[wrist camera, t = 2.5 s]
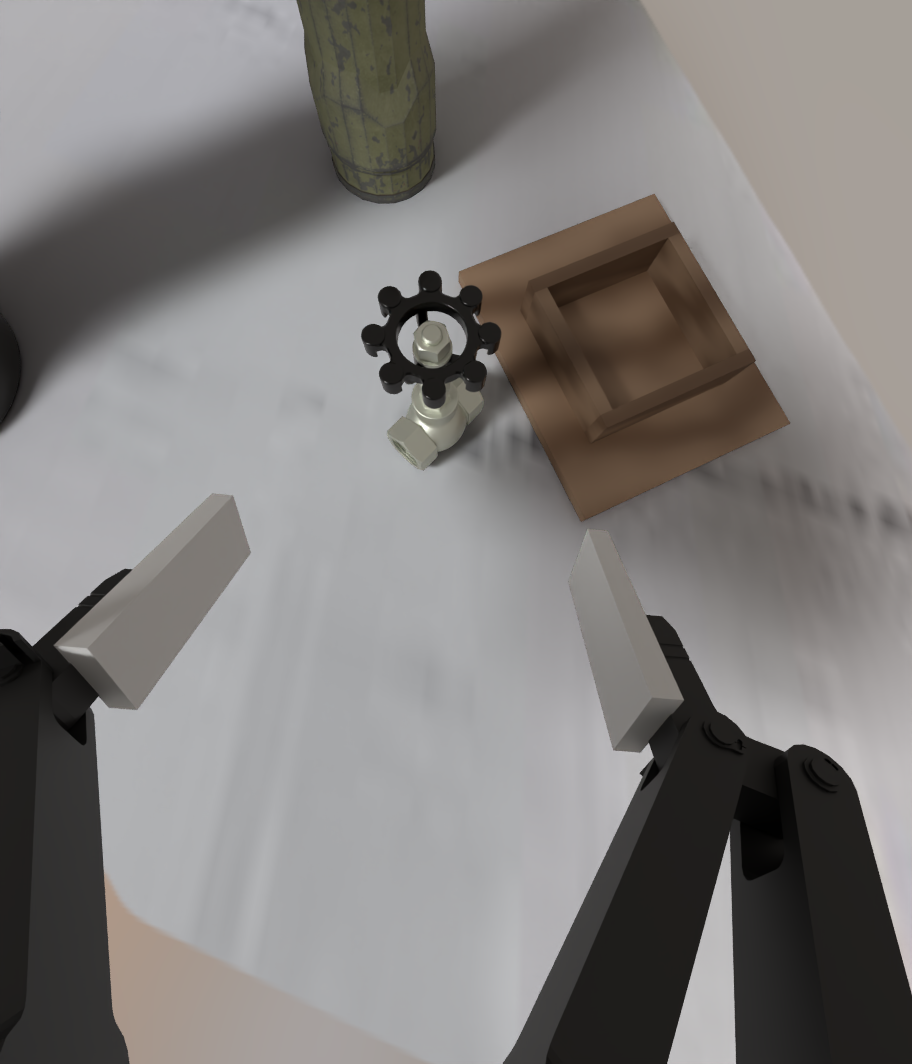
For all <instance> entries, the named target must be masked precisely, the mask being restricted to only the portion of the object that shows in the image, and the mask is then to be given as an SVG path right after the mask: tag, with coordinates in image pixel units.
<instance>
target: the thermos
mask: <svg viewBox="0 0 912 1064" xmlns="http://www.w3.org/2000/svg"><path fill="white" fill-rule="evenodd" d="M297 4H298V8H299V12H300V16H301V20H302V24H303V28H304V48H305V55H306V62H307V68H308V75H309V82H310V86H311V90H312V94H313V98H314V101H315V105H316V109H317V112H318V116H319V120H320V123H321V127H322V131H323V134H324V136H325V139H326V141H327V143H328V146H329V147H330V149H331V153H332V161H333V164H334V168H335V170H336V173H337V175H338V178H339V180H340V181H341V182H342V184H343V185H344V186H345V187H346V188H347V189H348V190H349V191H350V192H351V193H353V194H355V195H356V196H358V197H360V198H361V199H363V200H367V201H371V202H375V203H396V202H399V201H402V200H405V199H408V198H411V197H412V196H413V195H415V194H416V193H418V192H419V191H421V190H422V189H423V188H424V186H425V185H426V184H427V182H428V181H429V180H430V178H431V176H432V172H433V169H434V166H435V155H434V143H433V137H434V134H435V131H436V104H435V63H434V59H433V55H432V52H431V48H430V44H429V41H428V37H427V33H426V25H425V0H297Z"/></svg>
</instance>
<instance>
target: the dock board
mask: <svg viewBox="0 0 912 1064" xmlns="http://www.w3.org/2000/svg"><path fill="white" fill-rule="evenodd" d="M459 283H460V285H461V287H462V288H464V287H465V286H468V285H474V286H476V287H478V288H479V289H480V290H481V292H482V294H483V299H482V306H481V312H480V314H479V315H478V316H476V317H477V319H478V321H479V323H480V325H482V324H484V323H486V322H493V323H495V324H497V325H498V326H499V327H500V329H501V332H502V335H501V340H500V344H499V348H498V350H497V351H496V352H495V354H496V356H497V358H498V360H499V362H500V364H501V366H502V368H503V370H504V372H505V374H506V376H507V378H508V380H509V381H510V383H511V385H512V387H513V389H514V391H515V393H516V395H517V397H518V399H519V401H520V403H521V405H522V407H523V409H524V411H525V413H526V415H527V417H528V419H529V421H530V423H531V425H532V427H533V429H534V431H535V433H536V434H537V436H538V438H539V440H540V442H541V444H542V446H543V448H544V450H545V452H546V454H547V456H548V458H549V460H550V462H551V464H552V466H553V468H554V470H555V472H556V474H557V476H558V478H559V480H560V482H561V484H562V486H563V487H564V489H565V491H566V493H567V495H568V497H569V499H570V501H571V503H572V505H573V507H574V509H575V511H576V513H577V515H578V517H579V519H580V521H581V522H582V521H584V520H586V519H588V518H590V517H593V516H595V515H597V514H599V513H601V512H603V511H605V510H607V509H610V508H612V507H614V506H616V505H618V504H620V503H622V502H624V501H627V500H629V499H631V498H633V497H635V496H637V495H639V494H641V493H644V492H646V491H648V490H650V489H652V488H654V487H656V486H658V485H661V484H663V483H665V482H667V481H669V480H671V479H673V478H675V477H678V476H680V475H682V474H684V473H686V472H688V471H690V470H692V469H695V468H697V467H699V466H701V465H703V464H705V463H707V462H709V461H712V460H714V459H716V458H718V457H720V456H722V455H724V454H726V453H729V452H731V451H733V450H735V449H737V448H739V447H741V446H744V445H746V444H748V443H750V442H752V441H754V440H756V439H758V438H761V437H763V436H765V435H767V434H769V433H771V432H773V431H775V430H778V429H780V428H782V427H784V426H786V425H788V424H790V422H789V420H788V419H787V417H786V415H785V413H784V412H783V410H782V408H781V407H780V405H779V403H778V402H777V400H776V398H775V397H774V395H773V393H772V392H771V390H770V388H769V386H768V385H767V383H766V381H765V380H764V378H763V376H762V375H761V373H760V371H759V370H758V368H757V366H756V364H755V363H754V362H755V361H756V360H755V358H754V356H753V355H752V353H751V351H750V350H749V348H748V346H747V345H746V343H745V341H744V340H743V338H742V336H741V335H740V333H739V331H738V329H737V328H736V326H735V324H734V323H733V321H732V319H731V318H730V316H729V314H728V313H727V311H726V309H725V308H724V306H723V304H722V302H721V301H720V299H719V297H718V296H717V294H716V292H715V291H714V289H713V287H712V286H711V284H710V282H709V281H708V279H707V277H706V276H705V274H704V272H703V270H702V269H701V267H700V265H699V264H698V262H697V260H696V259H695V257H694V255H693V254H692V252H691V250H690V249H689V247H688V245H687V243H686V242H685V240H684V238H683V237H682V235H681V233H680V232H679V230H678V228H677V227H676V225H675V223H674V222H672V223H671V221H670V219H669V218H668V216H667V214H666V212H665V211H664V209H663V207H662V206H661V204H660V202H659V201H658V199H657V197H656V196H655V194H653V195H650V196H648V197H645V198H643V199H640V200H638V201H635V202H633V203H630V204H628V205H625V206H623V207H620V208H618V209H615V210H613V211H610V212H608V213H605V214H603V215H600V216H597V217H595V218H592V219H590V220H587V221H585V222H582V223H580V224H577V225H575V226H572V227H570V228H567V229H565V230H562V231H560V232H557V233H555V234H552V235H550V236H547V237H545V238H542V239H540V240H537V241H535V242H532V243H530V244H527V245H525V246H522V247H520V248H517V249H515V250H512V251H510V252H507V253H505V254H502V255H500V256H497V257H495V258H492V259H490V260H487V261H484V262H482V263H479V264H477V265H474V266H472V267H469V268H467V269H464V270H462V271H459Z"/></svg>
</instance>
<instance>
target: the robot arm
mask: <svg viewBox="0 0 912 1064" xmlns="http://www.w3.org/2000/svg"><path fill="white" fill-rule="evenodd" d="M19 376H20V355H19V349H18V345H17V342H16V339H15V336H14V334H13V332H12V330H11V328H10V326H9V325H8V323H7V322H6V321H5V319H4V318H3V317H2V316H1V314H0V422H1V421H2V420H3V418H4V417H5V415H6V413H7V412H8V410H9V408H10V406H11V404H12V402H13V399H14V396H15V394H16V390H17V387H18V382H19ZM250 553H251V551H250V548H249V545H248V542H247V538H246V535H245V532H244V529H243V526H242V523H241V519H240V516H239V513H238V510H237V507H236V503H235V500H234V497H233V496H232V495H221V494H211V495H210V496H209V497H208V498H207V499H206V500H205V501H204V502H203V503H202V504H201V505H200V506H199V507H198V508H196V509H195V510H194V511H193V512H192V513H191V514H190V515H189V516H188V517H187V518H186V519H185V520H184V521H183V522H182V523H181V524H180V525H179V526H178V527H177V528H176V529H175V530H174V531H172V532H171V533H170V534H169V535H168V536H167V537H166V538H165V539H164V540H163V541H162V542H161V543H160V544H159V545H158V546H157V547H156V548H155V549H154V550H153V551H152V552H151V553H149V554H148V555H147V556H146V557H145V558H144V559H143V560H142V561H141V562H140V563H139V564H138V565H137V566H136V567H135V568H134V569H124V570H122V571H120V572H118V573H117V574H115V575H113V576H111V577H109V578H108V579H106V580H105V581H103V582H102V583H101V584H100V585H99V586H98V587H97V588H96V589H95V590H94V591H93V592H91V595H90V596H87V597H86V598H85V599H84V600H83V601H82V602H81V603H79V604H78V605H79V606H78V607H75V608H74V609H73V610H72V611H71V612H70V613H69V614H67V615H66V616H65V617H64V618H63V619H62V620H61V621H60V622H59V623H58V624H56V625H55V626H54V627H53V628H52V629H51V630H50V631H49V632H48V633H47V634H46V635H44V636H43V637H42V638H41V639H40V640H39V641H38V642H37V643H36V644H35V645H34V646H31V645H30V644H29V643H28V642H27V641H26V640H25V639H24V638H23V637H22V635H21V634H20V633H19V632H16V631H14V630H12V629H0V1064H129V1057H128V1050H127V1046H126V1043H125V1040H124V1036H123V1035H122V1033H121V1031H120V1029H119V1028H118V1026H117V1024H116V1022H115V1019H114V1016H113V1010H112V999H111V984H110V983H111V982H110V968H109V967H110V966H109V952H108V951H109V950H108V934H107V917H106V902H105V887H104V869H103V852H102V836H101V820H100V804H99V787H98V771H97V755H96V739H95V722H94V714H93V712H92V709H91V708H90V706H91V704H92V703H93V702H94V701H95V700H96V698H97V697H98V696H99V697H100V698H101V699H102V700H103V701H104V703H105V704H106V705H107V706H108V707H109V708H120V709H132V710H138V708H139V707H140V706H141V704H142V703H143V701H144V700H145V699H146V697H147V696H148V694H149V693H150V692H151V690H152V689H153V688H154V686H155V685H156V683H157V682H158V681H159V679H160V678H161V676H162V675H163V674H164V672H165V671H166V670H167V668H168V667H169V665H170V664H171V663H172V661H173V660H174V658H175V657H176V656H177V654H178V653H179V652H180V650H181V649H182V647H183V646H184V645H185V643H186V642H187V641H188V639H189V638H190V636H191V635H192V634H193V632H194V631H195V629H196V628H197V627H198V625H199V624H200V623H201V621H202V620H203V618H204V617H205V616H206V614H207V613H208V611H209V610H210V609H211V607H212V606H213V605H214V603H215V602H216V600H217V599H218V598H219V596H220V595H221V593H222V592H223V591H224V589H225V588H226V587H227V585H228V584H229V582H230V581H231V580H232V578H233V577H234V575H235V574H236V573H237V571H238V570H239V569H240V567H241V566H242V564H243V563H244V562H245V560H246V559H247V557H248V556H249V555H250ZM568 583H569V586H570V590H571V594H572V598H573V601H574V605H575V609H576V613H577V616H578V620H579V624H580V628H581V631H582V635H583V639H584V643H585V646H586V650H587V654H588V658H589V661H590V665H591V669H592V673H593V676H594V680H595V684H596V688H597V691H598V695H599V699H600V703H601V706H602V710H603V714H604V718H605V721H606V725H607V729H608V733H609V736H610V740H611V744H612V748H613V750H616V751H628V752H641V751H642V750H643V749H644V748H645V746H646V745H647V744H648V743H649V744H650V747H651V750H652V753H653V756H654V758H653V759H652V760H651V761H650V762H649V763H648V764H647V766H646V767H645V768H644V769H643V770H642V771H641V772H640V774H641V775H642V776H643V777H642V779H641V782H640V784H639V786H638V788H637V790H636V792H635V794H634V796H633V798H632V801H631V803H630V805H629V807H628V809H627V811H626V813H625V815H624V817H623V819H622V822H621V824H620V826H619V828H618V830H617V832H616V834H615V836H614V838H613V841H612V843H611V845H610V847H609V849H608V851H607V853H606V855H605V857H604V859H603V862H602V864H601V866H600V868H599V870H598V872H597V874H596V876H595V878H594V880H593V883H592V885H591V887H590V889H589V891H588V893H587V895H586V897H585V899H584V902H583V904H582V906H581V908H580V910H579V912H578V914H577V916H576V918H575V920H574V923H573V925H572V927H571V929H570V931H569V933H568V935H567V937H566V939H565V942H564V944H563V946H562V948H561V950H560V952H559V954H558V956H557V958H556V960H555V963H554V965H553V967H552V969H551V971H550V973H549V975H548V977H547V979H546V981H545V984H544V986H543V988H542V990H541V992H540V994H539V996H538V998H537V1000H536V1003H535V1005H534V1007H533V1009H532V1011H531V1013H530V1015H529V1017H528V1019H527V1021H526V1024H525V1026H524V1028H523V1030H522V1032H521V1034H520V1036H519V1038H518V1040H517V1042H516V1044H515V1046H514V1047H513V1049H512V1051H511V1052H510V1054H509V1055H508V1057H507V1058H506V1059H505V1061H504V1062H503V1064H667V1062H668V1058H669V1054H670V1051H671V1047H672V1043H673V1039H674V1036H675V1032H676V1028H677V1025H678V1021H679V1017H680V1014H681V1010H682V1006H683V1002H684V999H685V995H686V991H687V988H688V984H689V980H690V976H691V973H692V969H693V965H694V962H695V958H696V954H697V951H698V947H699V943H700V939H701V936H702V932H703V928H704V925H705V921H706V917H707V913H708V910H709V906H710V902H711V899H712V895H713V891H714V888H715V884H716V880H717V876H718V873H719V869H720V865H721V862H722V858H723V854H724V850H725V847H726V843H727V839H728V836H729V832H730V852H731V889H732V927H733V964H734V1001H735V1038H736V1064H912V994H911V990H910V986H909V982H908V979H907V975H906V971H905V968H904V964H903V960H902V957H901V953H900V949H899V945H898V942H897V938H896V934H895V931H894V927H893V923H892V920H891V916H890V912H889V908H888V905H887V901H886V897H885V894H884V890H883V886H882V883H881V879H880V875H879V871H878V868H877V864H876V860H875V857H874V853H873V849H872V845H871V842H870V838H869V834H868V831H867V827H866V823H865V820H864V816H863V812H862V808H861V805H860V801H859V797H858V794H857V791H856V788H855V786H854V784H853V782H852V780H851V778H850V777H849V776H848V775H847V773H846V772H845V771H844V770H843V768H842V767H841V766H840V765H839V764H837V763H836V762H835V761H834V760H833V759H832V758H831V757H829V756H828V755H826V754H825V753H823V752H821V751H819V750H818V749H816V748H813V747H810V746H807V745H804V744H803V745H793V746H792V747H791V748H789V749H788V750H787V751H785V752H784V751H781V750H779V749H776V748H774V747H771V746H768V745H766V744H763V743H761V742H758V741H755V740H753V739H751V738H749V737H746V736H745V735H744V733H743V732H742V731H741V730H740V728H739V727H738V726H737V725H736V724H735V723H734V722H733V721H731V720H730V719H729V718H728V717H727V716H725V715H723V714H721V713H719V712H717V710H716V709H715V707H714V706H713V704H712V702H711V700H710V698H709V696H708V694H707V692H706V690H705V688H704V686H703V684H702V682H701V680H700V678H699V676H698V674H697V672H696V670H695V668H694V666H693V664H692V662H691V661H689V656H688V654H687V652H686V650H685V648H683V645H682V643H681V641H680V639H679V637H678V635H677V633H676V631H675V629H674V628H673V627H672V626H671V625H670V624H669V623H668V622H667V621H666V620H665V619H664V618H663V617H662V616H651V615H646V614H645V612H644V610H643V608H642V606H641V603H640V601H639V599H638V597H637V594H636V592H635V590H634V588H633V586H632V583H631V581H630V579H629V577H628V574H627V572H626V570H625V568H624V566H623V563H622V561H621V559H620V557H619V554H618V552H617V550H616V548H615V546H614V543H613V541H612V539H611V537H610V534H609V532H608V531H605V530H594V529H587V532H586V534H585V537H584V540H583V543H582V545H581V548H580V551H579V554H578V556H577V559H576V562H575V565H574V567H573V570H572V573H571V576H570V578H569V581H568Z"/></svg>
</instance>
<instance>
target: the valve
mask: <svg viewBox="0 0 912 1064" xmlns="http://www.w3.org/2000/svg"><path fill="white" fill-rule="evenodd" d="M418 284H419V293H418V294H417V295H415V296H412V297H410V298H404V297H403V296H402V295H401V293H400V291H399V290H398V289H397V288H395V287H392V286H387V287H384V288H383V289H381V290H380V292H379V294H378V301H379V305H380V309H381V313H382V315H383V316H384V317H387V315H389V316H390V317H389V319H388V321H387V323H386V325H384V326H382V327H381V326H379V325H377V324H370V325H367V326H366V327H365V328H364V329H363V330H362V333H361V338H362V341H363V344H364V347H365V350H366V352H367V353H368V354H369V355H371V356H373V357H377V356H378V355H377V351H381V350H383V351H386V352H387V353H388V355H389V358H390V362H389V363H386V364H384V365H383V366H382V367H381V368H380V371H379V377H380V380H381V383H382V386H383V389H384V390H385V391H386V392H388V393H390V394H397V393H400V392H401V391H402V387H401V386H402V384H403V383H404V382H405V383H406V384H413V383H415V382H416V383H417V384H416V385H415V387H414V388H413V391H412V397H411V398H412V404H411V405H410V407H409V409H408V412H407V415H406V418H405V417H403V416H402V417H401V418H400V419H399V420H398V421H397V422H396V423H395V424H394V425H393V426H392V427H391V428H390V429H389V430H388V431H387V436H388V439H389V441H390V442H391V444H392V445H393V446H394V447H395V449H396V450H397V451H398V452H399V453H400V454H401V455H402V456H403V457H404V458H405V459H406V460H407V461H408V462H409V463H411V464H412V465H413V466H414V467H416V468H417V469H419V470H423V471H424V470H425V469H426V468H427V467H428V466H429V465H430V464H431V463H432V462H433V461H434V460H435V459H436V458H437V456H438V455H437V452H440V451H443V450H446V449H448V448H450V447H451V446H453V445H454V444H455V443H456V442H457V441H458V440H459V439H460V437H461V436H462V434H463V432H464V430H465V427H466V425H469V424H470V423H471V422H472V420H473V419H474V418H475V417H476V416H477V415H478V414H479V413H480V412H481V411H482V408H483V405H484V399H483V397H482V395H481V393H480V390H481V389H482V388H483V387H484V384H485V380H486V375H487V370H486V367H485V365H484V364H483V363H481V362H479V361H476V356H477V351H478V350H479V349H482V348H484V349H488V352H487V354H488V355H491V354H493V353H495V352H496V351H497V350H498V348H499V344H500V340H501V335H502V332H501V329H500V327H499V326H498V325H497V324H495V323H493V322H486V323H484V324H482V325H480V324H478V323H477V322H476V321H475V319H474V317H473V313H474V314H475V315H476V316H478V315H479V314H480V312H481V306H482V299H483V294H482V292H481V290H480V289H479V288H478V287H476V286H474V285H468V286H465V287H464V288H462V290H461V291H460V294H459V296H457V297H450V296H447V295H445V294H443V293H442V280H441V277H440V275H439V274H438V273H437V272H435V271H425V272H423V273H422V274H421V275H420V277H419V280H418ZM427 311H439V312H443V313H446V314H448V315H450V316H451V317H453V318H454V319H455V320H456V321H457V322H458V323H459V324H460V325H461V326H462V328H463V330H464V332H465V335H466V339H467V343H466V347H465V349H464V351H463V353H462V354H461V355H455V354H452V342H451V340H450V338H449V335H448V331H447V329H446V326H445V325H444V324H442V323H439V322H435V321H428V315H427ZM414 315H416V320H417V324H418V328H417V329H416V331H415V332H414V342H413V355H414V362H415V364H413V363H412V362H410V361H409V360H407V359H406V358H405V357H404V356H403V354H402V353H401V351H400V349H399V347H398V335H399V333H400V330H401V328H402V326H403V325H404V323H405V322H406V321H407V320H408V319H410V318H411V317H412V316H414Z"/></svg>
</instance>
